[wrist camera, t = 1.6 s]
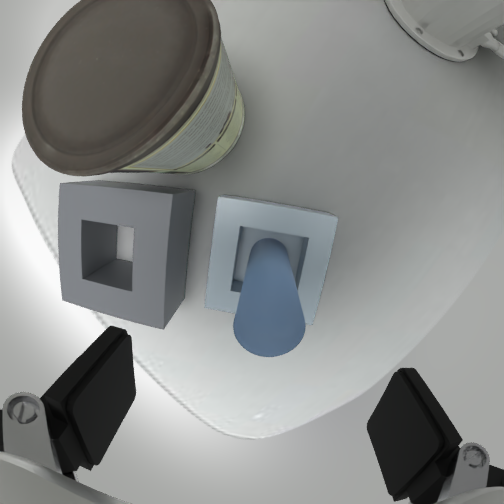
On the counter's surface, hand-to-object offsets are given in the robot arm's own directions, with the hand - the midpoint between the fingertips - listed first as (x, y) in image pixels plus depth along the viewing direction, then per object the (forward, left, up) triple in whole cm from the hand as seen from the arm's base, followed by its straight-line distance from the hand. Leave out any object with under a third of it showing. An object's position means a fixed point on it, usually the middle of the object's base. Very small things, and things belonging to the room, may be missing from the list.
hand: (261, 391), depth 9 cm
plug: (0, 0, -16) cm, 16 cm away
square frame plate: (0, 0, -16) cm, 16 cm away
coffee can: (+9, -11, -17) cm, 22 cm away
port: (+12, 0, -16) cm, 20 cm away
